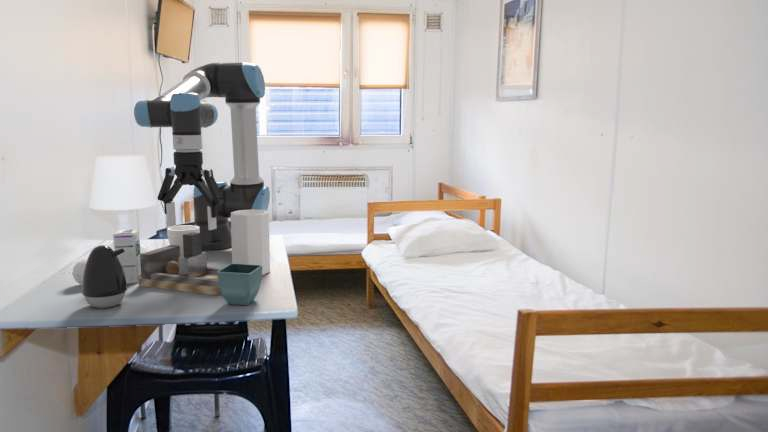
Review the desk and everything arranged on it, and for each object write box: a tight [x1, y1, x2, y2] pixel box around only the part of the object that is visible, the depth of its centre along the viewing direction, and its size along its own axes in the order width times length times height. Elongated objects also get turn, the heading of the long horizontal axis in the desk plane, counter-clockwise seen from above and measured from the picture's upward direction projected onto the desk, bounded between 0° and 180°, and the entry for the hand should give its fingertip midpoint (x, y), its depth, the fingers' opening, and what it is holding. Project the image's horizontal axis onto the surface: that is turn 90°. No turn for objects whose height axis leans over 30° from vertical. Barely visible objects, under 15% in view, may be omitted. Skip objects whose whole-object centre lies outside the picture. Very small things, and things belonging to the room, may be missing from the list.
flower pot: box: [217, 263, 263, 306], centre depth 155 cm, size 9×9×9 cm
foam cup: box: [166, 224, 200, 257], centre depth 188 cm, size 10×9×13 cm
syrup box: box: [112, 229, 142, 285], centre depth 174 cm, size 6×6×14 cm
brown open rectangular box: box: [138, 244, 224, 296], centre depth 171 cm, size 26×14×9 cm, turn 70°
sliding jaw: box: [179, 232, 208, 277], centre depth 171 cm, size 3×8×12 cm, turn 160°
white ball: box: [61, 258, 88, 286], centre depth 170 cm, size 10×7×7 cm
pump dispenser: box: [81, 244, 128, 309], centre depth 151 cm, size 10×10×15 cm
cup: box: [230, 209, 271, 277], centre depth 184 cm, size 11×11×18 cm
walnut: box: [165, 261, 179, 275], centre depth 174 cm, size 4×4×4 cm
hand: (191, 227), depth 170 cm, fingers open, 13 cm apart
